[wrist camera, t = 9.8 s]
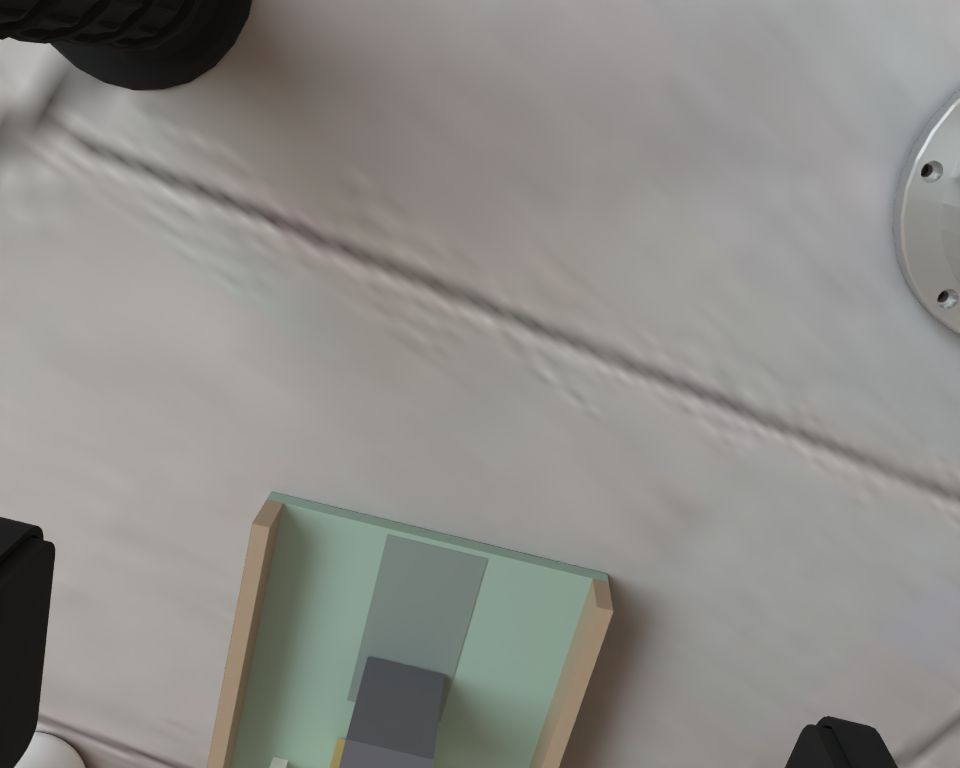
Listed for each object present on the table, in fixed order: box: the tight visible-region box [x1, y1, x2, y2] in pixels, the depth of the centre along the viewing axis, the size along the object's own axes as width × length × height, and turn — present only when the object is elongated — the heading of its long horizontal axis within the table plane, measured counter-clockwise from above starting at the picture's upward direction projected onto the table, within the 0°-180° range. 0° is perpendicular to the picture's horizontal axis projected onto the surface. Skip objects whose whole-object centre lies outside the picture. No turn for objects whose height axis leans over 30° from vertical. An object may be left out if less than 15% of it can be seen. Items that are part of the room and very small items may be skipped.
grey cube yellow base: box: [329, 657, 444, 768], centre depth 44 cm, size 5×7×6 cm
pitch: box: [207, 492, 613, 768], centre depth 46 cm, size 17×20×3 cm
